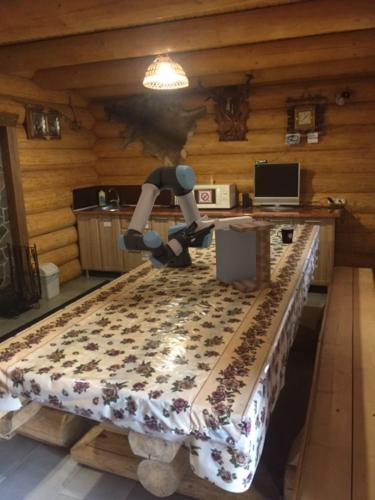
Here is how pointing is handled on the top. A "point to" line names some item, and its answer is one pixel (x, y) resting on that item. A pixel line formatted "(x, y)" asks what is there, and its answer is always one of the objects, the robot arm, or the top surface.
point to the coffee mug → (286, 234)
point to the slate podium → (235, 255)
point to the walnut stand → (257, 256)
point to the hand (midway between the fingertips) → (213, 218)
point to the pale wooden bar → (226, 222)
